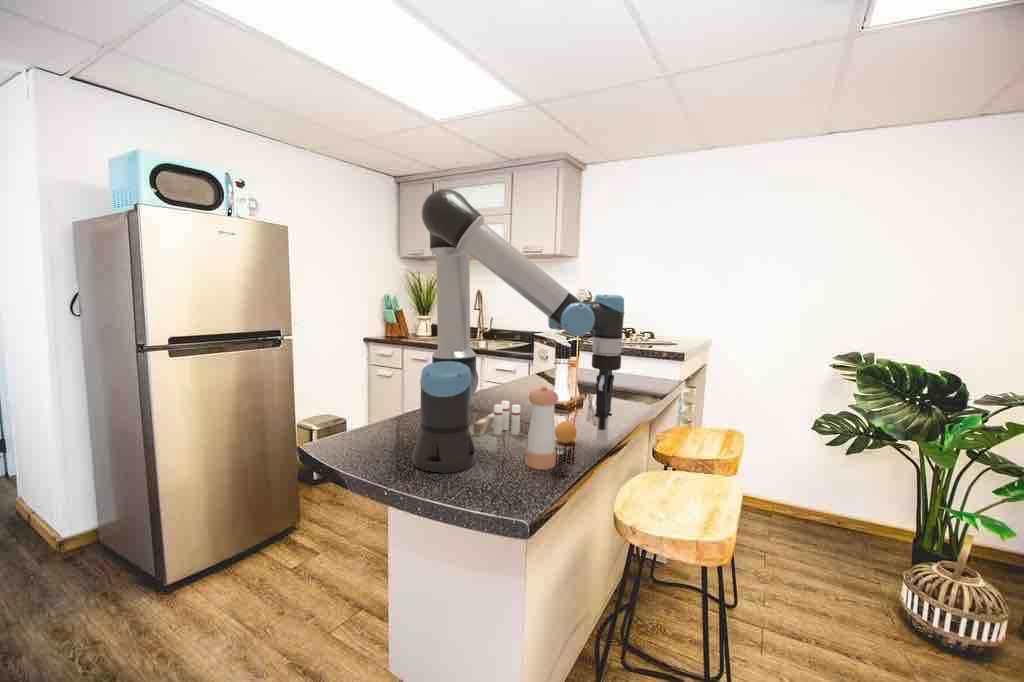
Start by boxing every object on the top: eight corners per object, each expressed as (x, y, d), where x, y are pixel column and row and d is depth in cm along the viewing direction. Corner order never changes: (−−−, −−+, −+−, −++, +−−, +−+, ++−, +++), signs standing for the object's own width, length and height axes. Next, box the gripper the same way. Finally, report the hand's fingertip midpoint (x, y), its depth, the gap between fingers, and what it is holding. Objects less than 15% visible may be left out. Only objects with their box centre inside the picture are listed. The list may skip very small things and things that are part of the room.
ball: (563, 447, 120) (564, 426, 119) (549, 440, 125) (550, 420, 124) (580, 444, 123) (581, 423, 122) (566, 437, 128) (567, 417, 127)
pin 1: (495, 435, 127) (496, 406, 126) (491, 433, 129) (492, 404, 128) (503, 434, 128) (504, 406, 127) (498, 432, 131) (499, 403, 130)
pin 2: (503, 431, 132) (504, 403, 131) (498, 428, 134) (499, 401, 133) (510, 429, 133) (511, 402, 132) (505, 427, 135) (506, 400, 134)
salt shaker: (519, 464, 107) (522, 386, 105) (536, 455, 113) (539, 381, 111) (544, 472, 103) (548, 391, 101) (561, 463, 109) (565, 386, 107)
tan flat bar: (479, 436, 126) (479, 424, 126) (473, 435, 127) (473, 423, 126) (499, 423, 139) (500, 412, 138) (494, 422, 140) (494, 411, 139)
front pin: (513, 435, 128) (515, 407, 127) (509, 433, 130) (510, 405, 129) (521, 434, 129) (522, 406, 128) (516, 432, 131) (517, 404, 130)
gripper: (617, 358, 109) (611, 450, 112) (625, 351, 121) (620, 435, 124) (587, 355, 112) (582, 445, 115) (597, 349, 124) (593, 431, 127)
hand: (601, 440), depth 120 cm, fingers closed
